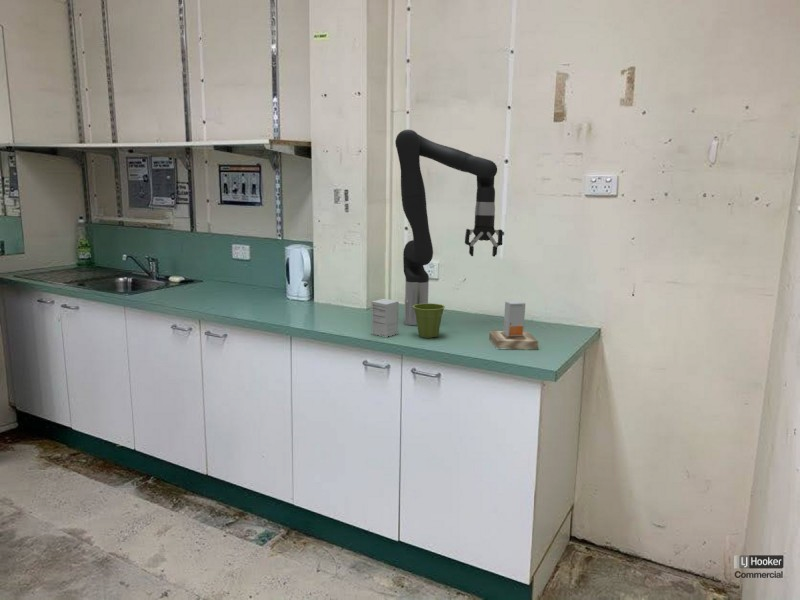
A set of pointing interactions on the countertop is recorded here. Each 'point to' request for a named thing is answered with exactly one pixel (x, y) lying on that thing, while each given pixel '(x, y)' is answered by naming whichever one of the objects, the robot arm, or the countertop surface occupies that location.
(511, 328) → the skincare box
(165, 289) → the countertop surface
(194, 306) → the countertop surface
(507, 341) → the birch plinth
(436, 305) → the plant pot
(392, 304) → the supplement box
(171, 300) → the countertop surface
